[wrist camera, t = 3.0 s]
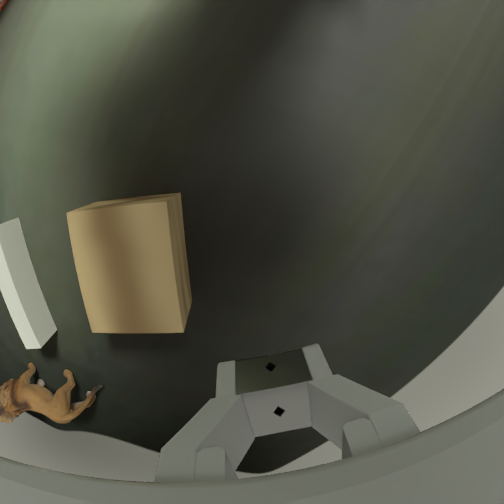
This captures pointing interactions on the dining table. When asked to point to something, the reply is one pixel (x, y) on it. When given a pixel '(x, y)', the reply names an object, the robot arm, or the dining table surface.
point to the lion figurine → (41, 398)
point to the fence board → (23, 288)
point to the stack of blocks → (2, 3)
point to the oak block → (132, 264)
